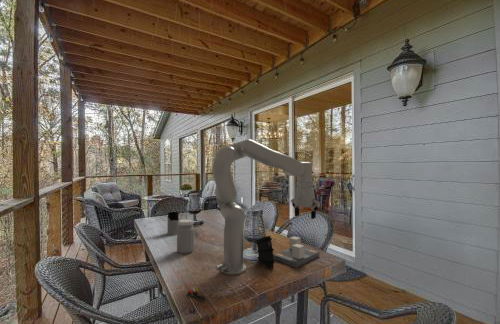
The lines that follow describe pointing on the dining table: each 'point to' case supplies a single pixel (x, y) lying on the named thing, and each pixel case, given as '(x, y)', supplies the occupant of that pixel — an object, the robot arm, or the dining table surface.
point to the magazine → (265, 252)
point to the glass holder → (173, 223)
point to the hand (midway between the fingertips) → (305, 217)
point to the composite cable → (195, 294)
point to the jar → (185, 236)
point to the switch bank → (288, 259)
